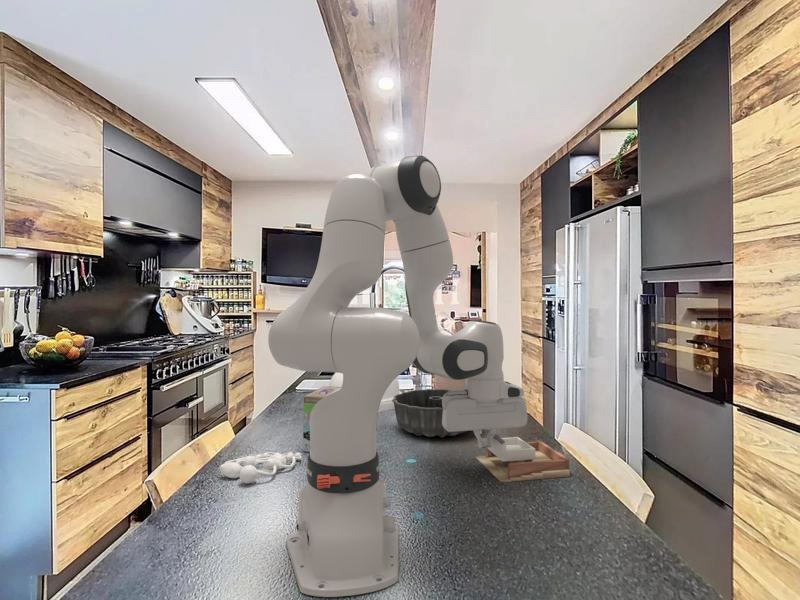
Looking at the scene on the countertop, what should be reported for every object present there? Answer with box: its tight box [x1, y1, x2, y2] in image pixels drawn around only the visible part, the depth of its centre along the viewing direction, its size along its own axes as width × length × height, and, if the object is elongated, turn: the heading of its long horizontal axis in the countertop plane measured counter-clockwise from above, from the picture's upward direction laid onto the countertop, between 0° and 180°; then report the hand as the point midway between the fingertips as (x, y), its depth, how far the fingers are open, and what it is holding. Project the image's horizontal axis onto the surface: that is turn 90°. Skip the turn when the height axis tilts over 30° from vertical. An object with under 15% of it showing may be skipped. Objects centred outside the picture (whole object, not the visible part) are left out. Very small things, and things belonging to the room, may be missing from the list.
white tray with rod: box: [485, 429, 535, 467], centre depth 111 cm, size 9×8×6 cm
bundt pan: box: [392, 388, 468, 439], centre depth 142 cm, size 26×26×10 cm
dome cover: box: [328, 372, 403, 413], centre depth 177 cm, size 32×30×14 cm
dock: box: [475, 439, 571, 483], centre depth 112 cm, size 16×17×4 cm
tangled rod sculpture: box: [218, 451, 303, 484], centre depth 110 cm, size 19×14×4 cm
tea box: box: [302, 385, 341, 453], centre depth 128 cm, size 15×10×15 cm, turn 168°
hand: (484, 447), depth 111 cm, fingers closed
